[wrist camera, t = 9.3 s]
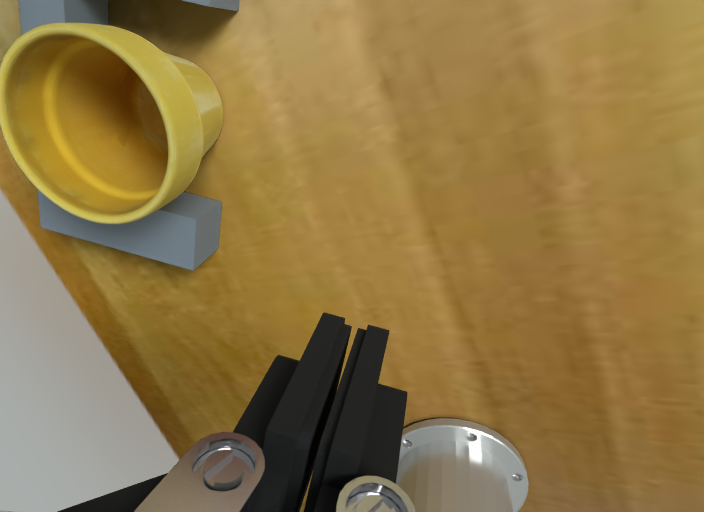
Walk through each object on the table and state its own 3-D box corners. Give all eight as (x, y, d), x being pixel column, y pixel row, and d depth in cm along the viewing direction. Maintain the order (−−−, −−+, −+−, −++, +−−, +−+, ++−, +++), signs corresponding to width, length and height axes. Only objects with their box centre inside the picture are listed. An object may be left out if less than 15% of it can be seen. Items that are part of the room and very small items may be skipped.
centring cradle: (218, 248, 37) (193, 270, 34) (79, 210, 38) (41, 227, 35) (244, -64, 28) (214, -79, 24) (61, -103, 29) (6, -124, 25)
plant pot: (151, 195, 36) (56, 243, 28) (86, 56, 33) (-46, 60, 24) (270, 161, 33) (206, 203, 25) (213, 4, 30) (115, -12, 21)
